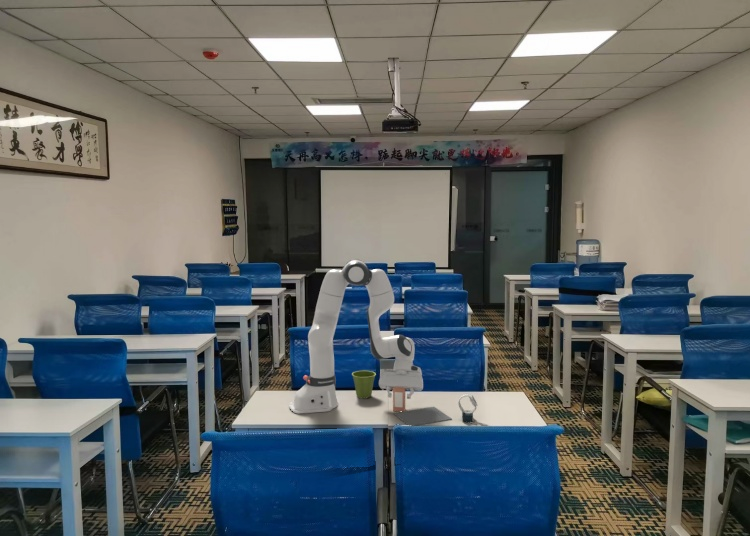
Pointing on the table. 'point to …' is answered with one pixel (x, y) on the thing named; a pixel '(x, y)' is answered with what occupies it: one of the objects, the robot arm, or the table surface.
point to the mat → (422, 416)
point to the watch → (468, 415)
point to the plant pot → (363, 383)
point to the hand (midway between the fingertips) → (399, 397)
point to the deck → (398, 399)
